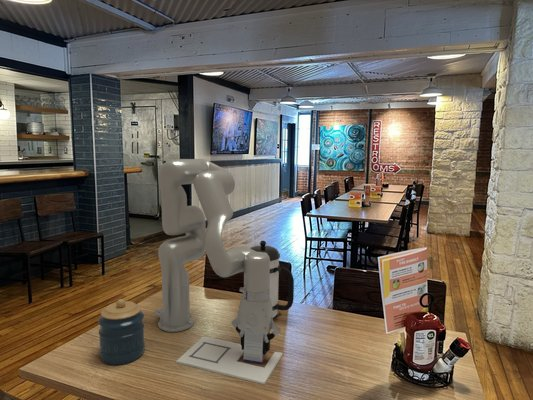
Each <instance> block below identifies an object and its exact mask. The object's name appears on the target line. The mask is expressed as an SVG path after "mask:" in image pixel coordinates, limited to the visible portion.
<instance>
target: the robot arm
mask: <svg viewBox="0 0 533 400" xmlns="http://www.w3.org/2000/svg"><path fill="white" fill-rule="evenodd" d="M182 185H183V186H184V185H193V187H194V190H195V192H196V196H197V198H198V200H199V203H200V205H201V208H200V207H199V206H196V205H188V198H187V193H186V191H185V189H184V187H183V186H182ZM158 186H159V190H160V194H161V225H162V230H163V232H164V233H165V234H166V235H168V236H178V237H175V238H170V239H167V240H165V241H163V242H162V243H161V244H160V246H159V247H158V259H159V263H160V264H159V265H160V270H161V271H160V272H161V298H162V299H161V301H162V302H161V303H162V308H159V307H158V308H156V309H155V313H154V317H156V318H157V317H158V318H159V320H158V323H157V324H158V328H159V329H160V330H162V331H165V332H168V333H169V332H170V333H176V332H179V333H180V332H183V331H186V330H188V329H190V328H192V327H193V326H194V324H195V318H194V317H193V316H192V315H190V314H191V312H190V311H191V310H190V309H191V308H190V305H191V303H190V295H191V294H190V274H189V272H188V270H187V268H186V267H185V264H187V263H189V262H190V263H191V262H195V261H197V260H199V259H201V258H202V257H203V256H204V254H205V253H206V256H207V258H208V260H209V261H208V262H209V263H210V266H211V268H212V270H213V272H214V273H215V274H216V275H217V276H219V277H221V278H229V277H232V276H234V275H236V274H239V273H243V287H242V286H240V287H239V292H241V293H242V296H241V297H240V300H239V305H238V312H237V316H236V317H235V318H234V319H233V320H232V321H231V325H232V326H233V327H234V328H235V330H236V332H237V333H238V336H239V337H240V344H241V345H242V348H241V349H242V350H244V337H245V325H249V326H251V327H252V331H253V333H256V334H261V335H264V340H265V341H264V342H263V355H264V356H265V355H267V353H268V352H269V351H270V349H271V340H273V339H274V338H275V337H277V336H278V335H279V334H280V333H281V328H280V327H279V326H278V325H277V324H276V322H274V321H275V320H274V317H273V310H272V303H271V298H269V274H270V258H269V255H268V254H266V253H263V252H256V251H254V250H252V249H250V248H251V247H248V246H244V245H243V246H242V245H241V246H238V247H234V248H231V249H228V250H226V248H225V245H224V242H223V237H222V235H223V229H224V227H225V225H226V224H227V222H228V221H229V220H230V219H232V217H233V215H234V210H233V209H232V205H231V203H230V201H229V199H228V195H231V194H232V193H234V192H233V191H234V190H235V189H236V188H235V187H236V182H235V178H234V176H233V175H232V173H231V172H230V171H228V170H226V169H225V168H223V167H221V166H219V165H217V164H215V163H214V162H211V161H209V160H207V159H204V158H177V159H170V160H168V161H165V162H164V163H163V164H162V165H161V167H160V168H159V171H158ZM206 221H207V227H206ZM179 235H184V236H179ZM271 330H273V331H272V332H271Z"/></svg>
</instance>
